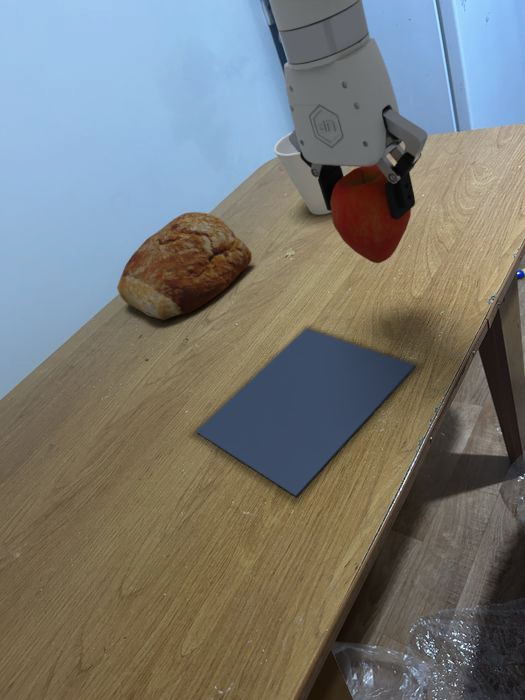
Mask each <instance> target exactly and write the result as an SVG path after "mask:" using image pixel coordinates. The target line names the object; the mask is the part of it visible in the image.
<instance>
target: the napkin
mask: <svg viewBox="0 0 525 700" xmlns="http://www.w3.org/2000/svg"><path fill="white" fill-rule="evenodd" d="M415 368H416V365H415V364H412V363H410V362H408V361H404V360H400V359H398V358H395V357H392V356H389V355H387V354H383V353H381V352H377V351H374V350H372V349H368V348H365V347H363V346H359V345H357V344H354V343H350V342H348V341H345V340H342V339H340V338H336V337H335V336H334V337H333V336H331V335H327V334H325V333H323V332H319V331H315V330H313V329H310V328H307V327H306V328H305V329H304V330H303V331H302V332H300V334H299V335H297V337H295V338H294V339H293V340H292V341H291V342H290V343H289V344H288V345H287V346H285V348H283V350H281V351H280V352H279V353H278V354H277V355H276V356H275V357H274V358H273V359H272V360H271V361H269V363H268V364H266V366H264V367H263V368H262V369H261V370H260V371H259V372H258V373H257V374H256V375H255V376H253V378H252V379H251V380H249V381H248V382H247V383H246V384H245V385H244V386H243V387H242V388H241V389H240V390H239V391H238V392H236V394H235V395H233V396H232V397H231V398H230V399H229V400H228V401H226V403H225V404H223V406H221V407H220V409H218V410H217V411H216V412H215V413H214V414H213V415H212V416H211V417H210V418H209V419H208V420H207V421H206V422H204V423H203V425H201V426H200V427H199V428H198V429H197V430H196V434H198V435H199V436H200V437H202V438H204V439H206V440H207V441H209V442H210V443H212V444H213V445H215V446H217V447H218V448H219V449H221V450H223V451H224V452H225V453H226V454H228V455H230V456H232V457H234V458H235V459H237V460H238V461H239V462H241V463H243V464H244V465H246V466H247V467H249V468H250V469H251V470H253V471H255V472H256V473H258V474H259V475H261V476H263V478H265V479H267V480H269V481H270V482H272V483H273V484H275V485H277V486H278V487H280V488H281V489H283V490H284V491H286V492H287V493H289V495H292V496H293V497H295V498H297V497H299V495H301V494H302V492H303V491H304V490H305V489H306V488H307V487H308V486H309V484H311V482H312V481H313V480H314V479H315V478H316V477H317V476H318V475H319V474H320V473H321V472H322V470H324V468H325V467H326V466H327V465H328V464H329V463H330V462H331V460H333V458H334V457H335V456H336V455H337V454H338V453H339V452H340V451H341V450H342V448H343V447H344V446H345V445H346V444H347V443H348V442H349V441H350V440H351V439H352V438H353V437H354V435H355V434H356V433H357V432H358V431H359V430H360V429H361V427H363V425H364V424H365V423H366V422H367V421H368V420H369V419H370V418H371V416H372V415H373V414H374V413H375V412H376V411H377V410H378V409H379V408H380V407H381V406H382V405H383V403H384V402H385V401H386V400H387V399H388V398H389V397H390V396H391V395H392V394H393V393H394V392H395V390H396V389H397V388H398V387H399V386H400V385H401V384H402V382H403V381H404V380H405V379H406V378H407V377H408V376H409V375H410V374H412V372H413V370H414V369H415Z"/></svg>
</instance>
